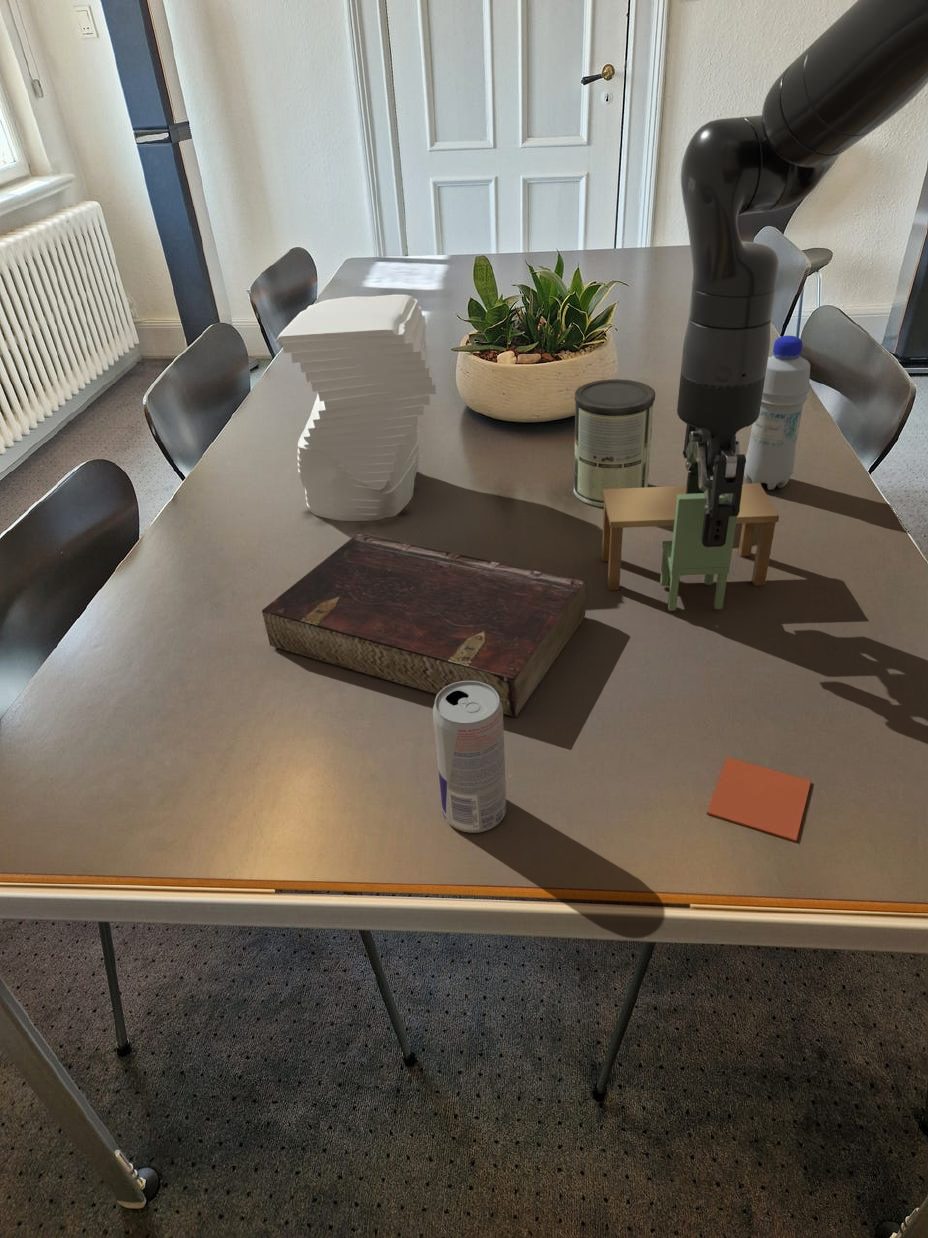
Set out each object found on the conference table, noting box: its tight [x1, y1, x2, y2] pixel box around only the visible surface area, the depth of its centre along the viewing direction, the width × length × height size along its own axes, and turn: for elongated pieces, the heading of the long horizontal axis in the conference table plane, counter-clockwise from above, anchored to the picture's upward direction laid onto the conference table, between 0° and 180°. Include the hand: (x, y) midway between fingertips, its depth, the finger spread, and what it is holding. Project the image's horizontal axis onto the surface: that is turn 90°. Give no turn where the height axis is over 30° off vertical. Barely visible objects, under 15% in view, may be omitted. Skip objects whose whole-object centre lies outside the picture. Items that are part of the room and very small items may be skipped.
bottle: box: [744, 335, 811, 491], centre depth 111 cm, size 7×7×20 cm
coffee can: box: [573, 378, 656, 508], centre depth 114 cm, size 10×10×14 cm
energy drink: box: [432, 681, 507, 834], centre depth 68 cm, size 5×5×12 cm
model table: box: [601, 483, 780, 591], centre depth 97 cm, size 18×8×9 cm, turn 89°
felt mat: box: [706, 756, 812, 842], centre depth 70 cm, size 7×7×1 cm
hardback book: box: [261, 532, 588, 718], centre depth 91 cm, size 29×19×5 cm, turn 63°
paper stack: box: [274, 293, 437, 522], centre depth 115 cm, size 21×27×26 cm
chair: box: [659, 493, 737, 612], centre depth 91 cm, size 6×6×14 cm
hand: (703, 524), depth 87 cm, fingers open, 8 cm apart
